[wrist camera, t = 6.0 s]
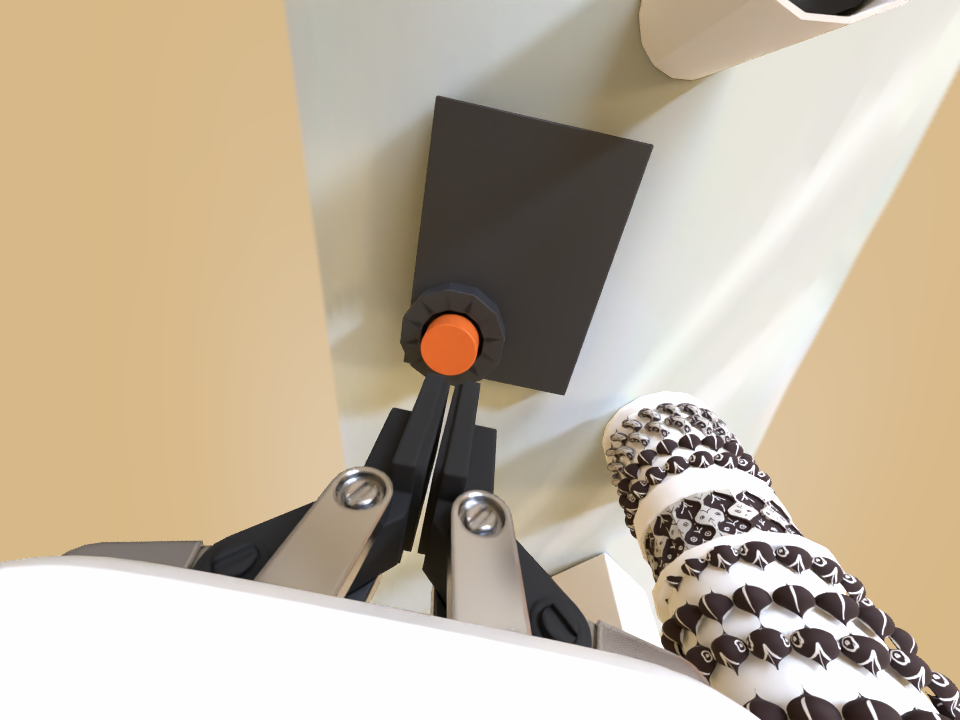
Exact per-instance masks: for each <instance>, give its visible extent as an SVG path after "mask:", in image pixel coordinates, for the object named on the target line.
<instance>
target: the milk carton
mask: <svg viewBox="0 0 960 720" xmlns="http://www.w3.org/2000/svg"><path fill="white" fill-rule="evenodd" d="M551 578H552V579H553V580H554V581H555V583H556V584H557V585H558V586H559V587H560V588H561V589H562V590H563V591H564V592H565V594H566V595H567V596H568V597H569V598H570V599H571V600H572V601H573V602H574V603H575V604H576V606H577V607H578V608H579V609H580V611H581V612H582V614H583V615H584V616H585V618H586V619H587V620H589V621H591V622H593V623H595V624H596V622H597V620H601V621H603V622H605V623H607V624H610V625H612V626H614V627H616V628H619V629H621V630H623V631H625V632H627V633H630V634H632V635H634V636H636V637H639V638H641V639H643V640H645V641H647V642H650V643H652V644H654V645H656V646H659V647H661V648H663V646H662V644H661V640H660V637H659V634H658V631H657V628H656V624H655V621H654V618H653V615H652V612H651V609H650V605H649V602H648V599H647V596H646V593H645V591H644V590H643V589H642V588H641V587H640V586H639V585H638V584H637V583H636V582H635V581H634V580H633V579H632V578H631V577H630V576H629V575H628V574H627V573H626V572H624V571H623V570H622V569H621V568H620V567H619V566H618V565H617V564H616V563H615V562H614V561H613V560H612V559H611V558H610V557H609V556H608V555H607V554H606V553H603V554H601V555H599V556H596V557H594V558H592V559H590V560H587V561H585V562H583V563H581V564H579V565H576V566H574V567H572V568H570V569H568V570H565V571H563V572H561V573H559V574H557V575H554V576H552V577H551Z"/></svg>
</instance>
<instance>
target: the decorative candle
mask: <svg viewBox="0 0 960 720" xmlns="http://www.w3.org/2000/svg"><path fill="white" fill-rule="evenodd" d="M602 445H603V449H604V453H605V457H606V461H607V462H608V465H607V468H608V470H610V471H613V472H617V473H616V474H613V476H612V478H613V479H612V484H613V485H614V486H615V487H618V491H617V493H618V495H619V496H620V498H619V504H620V506H621V507H622V508H623V509H624V513H625V515H626V516H625V523H626V525H627V526H628V527H629V528H630V531H631V534H632V536H633V537H634V538H636V539H637V540H638V543H639V546H640V549H641V552H642V555H643V558H644V559H645V560H646V561H647V562H648V563H649V565H650V567H651V568H652V572H653V577H654V580H655V583H656V584H655V587H654V589H653V591H652V595H653V599H654V604H655V608H656V613H657V616H658V618H659V620H660V621H661V622H662V623H663V626H662V632H663V635H662V637H661V644H662V646H663V648H664V649H665V650H668V651H670V652H672V653H674V654H676V655H679V656H681V657H683V658H684V659H686V660H687V661H689V662H690V663H692V664H693V665H694V666H695V667H696V668H697V669H698V670H699V671H700V672H701V673H702V674H703V675H704V676H705V678H706V679H707V681H708V682H709V684H710V686H711V687H712V688H713V689H715V690H717V691H718V692H720V693H722V694H723V695H725V696H727V697H728V698H730V699H731V700H733V701H735V702H736V703H738V704H739V705H741V706H742V707H744V708H746V709H747V710H748V711H750V712H751V713H752V714H754V715H755V716H756V717H758V718H759V719H760V720H960V693H959V690H958V689H957V687H956V686H955V684H954V683H953V682H952V681H951V680H950V679H948V678H947V677H945V676H944V675H942V674H940V673H938V672H935V671H931V670H930V668H929V666H928V665H927V664H926V663H925V662H924V661H923V660H922V659H921V658H919V657H918V656H916V653H917V644H916V642H915V640H914V639H913V637H912V636H911V635H910V634H909V633H907V632H906V631H904V630H902V629H900V628H896V627H895V625H894V622H893V620H892V619H891V618H890V617H889V616H888V615H887V614H886V613H884V612H883V611H881V610H879V609H877V608H875V606H874V604H873V603H872V602H871V601H870V600H869V599H867V598H865V595H866V592H865V588H864V586H863V584H862V583H861V582H860V581H859V580H858V579H857V578H855V577H854V576H851V575H849V574H845V572H844V571H843V569H842V568H841V566H840V565H839V564H838V562H837V561H836V559H835V558H834V557H833V555H832V554H831V553H830V552H829V550H828V549H827V548H825V547H823V546H821V545H819V544H816V543H814V542H812V541H810V540H808V539H806V538H805V537H804V536H803V535H802V534H801V532H800V531H799V530H798V529H797V527H796V526H795V525H794V524H793V522H792V517H791V516H790V514H789V513H788V512H787V510H786V509H785V507H784V506H783V504H782V503H781V502H780V500H779V499H778V498H777V497H776V494H775V492H774V490H772V488H770V486H771V479H770V477H769V476H768V475H767V474H766V473H764V472H762V471H759V468H758V466H757V465H756V464H755V460H754V458H753V457H752V456H750V455H749V454H746V453H743V448H742V447H741V443H740V441H739V440H738V438H737V437H736V436H735V435H734V434H732V433H730V432H729V430H728V428H727V426H726V424H725V423H724V422H723V421H722V420H720V419H718V418H717V416H716V415H715V414H714V413H713V412H712V410H711V409H710V408H709V406H708V405H707V404H706V403H705V402H703V401H701V400H699V399H697V398H695V397H693V396H691V395H689V394H685V393H675V392H659V393H655V394H650V395H646V396H642V397H639V398H637V399H635V400H634V401H632V402H630V403H629V404H627V405H625V406H624V407H622V408H620V409H619V410H618V411H617V413H616V414H615V415H614V416H613V418H612V419H611V420H610V421H609V422H608V424H607V425H606V429H605V432H604V436H603V440H602ZM846 591H847V592H848V594H849V595H850V596H847V595H846V594H845V593H846ZM887 637H889V638H890V640H891V641H892V642H893V644H894V645H895V646H896V648H897V649H890V648H889V647H888V648H887V646H886V645H885V644H884V643H885V642H884V643H883V641H884V639H885V638H887ZM880 638H881V639H882V640H883V641H882V640H881V639H880ZM925 686H928V687H929V688H930V689H931V690H932V691H933V692H934V694H935V695H936V696H931V695H929V694H927V695H928V696H929V698H930V700H931V702H932V704H933V705H932V704H931V702H930V701H929V700H928V698H927V697H926V696H925V695H924V693H923V692H922V691H921V688H923V687H925Z"/></svg>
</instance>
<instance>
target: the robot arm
mask: <svg viewBox="0 0 960 720" xmlns="http://www.w3.org/2000/svg"><path fill="white" fill-rule="evenodd" d="M444 379H445V376H443V375H439V374H434V373H429V372H428V373H427V375H426V377H425V380H424V382H423V385H422V387H421V390H420V393H419V395H418V398H417V400H416V403H415V405H414V408H413V410H412V411H408V410H403V409H398V408H392V410H391V411H390V413H389V415H388V418H387V420H386V422H385V424H384V426H383V428H382V430H381V432H380V434H379V436H378V438H377V440H376V442H375V445H374V447H373V449H372V451H371V453H370V455H369V457H368V459H367V461H366V463H365V465H364V467H354V468H350V469H347V470H345V471H343V472H341V473H339V474H338V475H337V476H336V477H335V478H334V479H333V480H332V481H331V483H330V484H329V485H328V486H327V488H326V489H325V490H324V491H323V493H322V494H321V495H320V497H319V498H318V499H317V500H316V501H315V502H312V503H310V504H307V505H305V506H302V507H300V508H298V509H295V510H292V511H290V512H288V513H285V514H283V515H280V516H278V517H275V518H273V519H270V520H268V521H265V522H263V523H260V524H258V525H256V526H253V527H251V528H248V529H246V530H243V531H241V532H238V533H236V534H234V535H231V536H229V537H226V538H225V539H223V540H221V541H219V542H217V543H215V544H214V545H213V546H203V541H152V542H101V543H94V544H88V545H84V546H81V547H78V548H76V549H73V550H70V551H68V552H66V553H65V554H63V555H61V556H46V557H33V558H25V559H19V560H11V561H4V562H0V720H760V719H759V718H758V717H756V716H755V715H754V714H752V713H751V712H750V711H748V710H747V709H746V708H744V707H742V706H741V705H739V704H738V703H736V702H735V701H733V700H731V699H730V698H728V697H727V696H725V695H723V694H722V693H720V692H718V691H717V690H715V689H713V688H712V687H711V686H710V684H709V682H708V681H707V679H706V678H705V676H704V675H703V674H702V673H701V672H700V671H699V670H698V669H697V668H696V667H695V666H694V665H693V664H692V663H690V662H689V661H687V660H686V659H684V658H683V657H681V656H679V655H676V654H674V653H672V652H670V651H668V650H665V649H663V648H661V647H659V646H656V645H654V644H652V643H650V642H647V641H645V640H643V639H641V638H639V637H636V636H634V635H632V634H630V633H627V632H625V631H623V630H621V629H619V628H616V627H614V626H612V625H610V624H607V623H605V622H603V621H601V620H597V622H596V624H595V623H593V622H591V621H589V620H587V619H586V618H585V616H584V615H583V614H582V612H581V611H580V609H579V608H578V607H577V606H576V604H575V603H574V602H573V601H572V600H571V599H570V598H569V597H568V596H567V595H566V594H565V592H564V591H563V590H562V589H561V588H560V587H559V586H558V585H557V584H556V583H555V581H554V580H553V579H552V578H551V577H550V576H549V575H548V574H547V573H546V572H545V570H544V569H543V568H542V567H541V566H540V565H539V564H538V563H537V562H536V561H535V560H534V558H533V557H532V556H531V555H530V554H529V553H528V552H527V551H526V550H525V549H524V547H523V546H522V545H521V544H520V543H519V542H518V541H517V540H516V538H515V532H514V526H513V521H512V516H511V513H510V510H509V508H508V506H507V505H506V504H505V502H504V501H503V500H502V499H500V498H499V497H498V496H496V495H494V494H493V490H494V472H495V454H496V437H497V430H496V429H492V428H487V427H483V426H478V425H475V420H476V412H477V405H478V398H479V391H480V383H476V382H471V381H466V380H464V381H463V384H459V383H456V385H455V389H454V393H453V397H452V401H451V405H450V409H449V413H448V417H447V421H446V425H445V429H444V433H443V437H442V441H441V445H440V449H439V453H438V457H437V460H436V465H435V469H434V473H433V478H432V483H431V488H430V493H429V498H428V503H427V508H426V513H425V518H424V523H423V528H422V533H421V538H420V543H419V548H418V553H420V554H425V559H424V564H423V569H422V570H423V571H424V573H425V574H426V576H427V577H428V579H429V580H430V582H431V583H432V585H433V586H432V591H431V612H430V615H427V614H422V613H417V612H412V611H407V610H401V609H396V608H391V607H386V606H381V605H376V604H371V603H370V601H371V599H372V597H373V595H374V593H375V591H376V589H377V587H378V585H379V583H380V579H381V576H382V573H384V572H385V571H387V570H389V569H390V568H392V567H394V566H395V565H397V563H400V561H401V557H402V554H403V550H405V551H410V552H411V550H412V546H413V542H414V539H415V535H416V531H417V527H418V523H419V519H420V515H421V511H422V507H423V504H424V500H425V496H426V492H427V488H428V484H429V480H430V476H431V472H432V469H433V465H434V461H435V457H436V453H437V448H438V443H439V438H440V433H441V428H442V423H443V418H444V413H445V408H446V403H447V398H448V393H449V388H450V382H449V381H445V380H444Z"/></svg>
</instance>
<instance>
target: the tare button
mask: <svg viewBox="0 0 960 720" xmlns="http://www.w3.org/2000/svg"><path fill="white" fill-rule="evenodd" d="M478 345H479V335H478V332H477V329H476V328H475V326H474V325H473V323H472V322H471V321H469V320H468V319H467V318H465V317H463V316H460V315H457V314H445V315H442V316H439V317H437V318H436V319H434V320H433V321H432V322H431V324H430V325H429V327H428V329H427V331H426V333H425V334H424V336H423V338H422V341H421V354H422V357H423V359H424V361H425V362H426V364H427V365H428V366H429V367H430V368H431V369H432V370H434V371H436V372H438V373H440V374H444V375H457V374H461V373H463V372H465V371H467V370H468V369H469V368H470V367H471V366H472V365H473V363H474V362H475V359H476V356H477V350H478Z"/></svg>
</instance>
